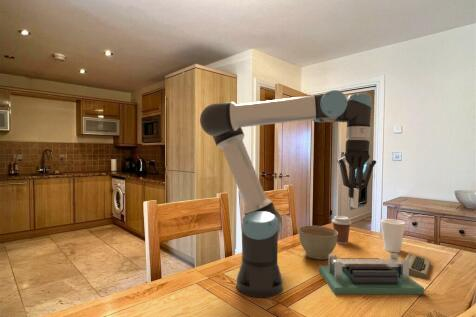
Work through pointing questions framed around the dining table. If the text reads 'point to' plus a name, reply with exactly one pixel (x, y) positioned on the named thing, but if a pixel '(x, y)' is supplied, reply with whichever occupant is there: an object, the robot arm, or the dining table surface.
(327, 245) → the planter bowl
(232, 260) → the dining table surface
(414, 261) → the computer
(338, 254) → the dining table surface
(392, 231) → the foam cup
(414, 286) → the circuit board
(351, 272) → the heat sink mount
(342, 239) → the coffee cup
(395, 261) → the steel strap
